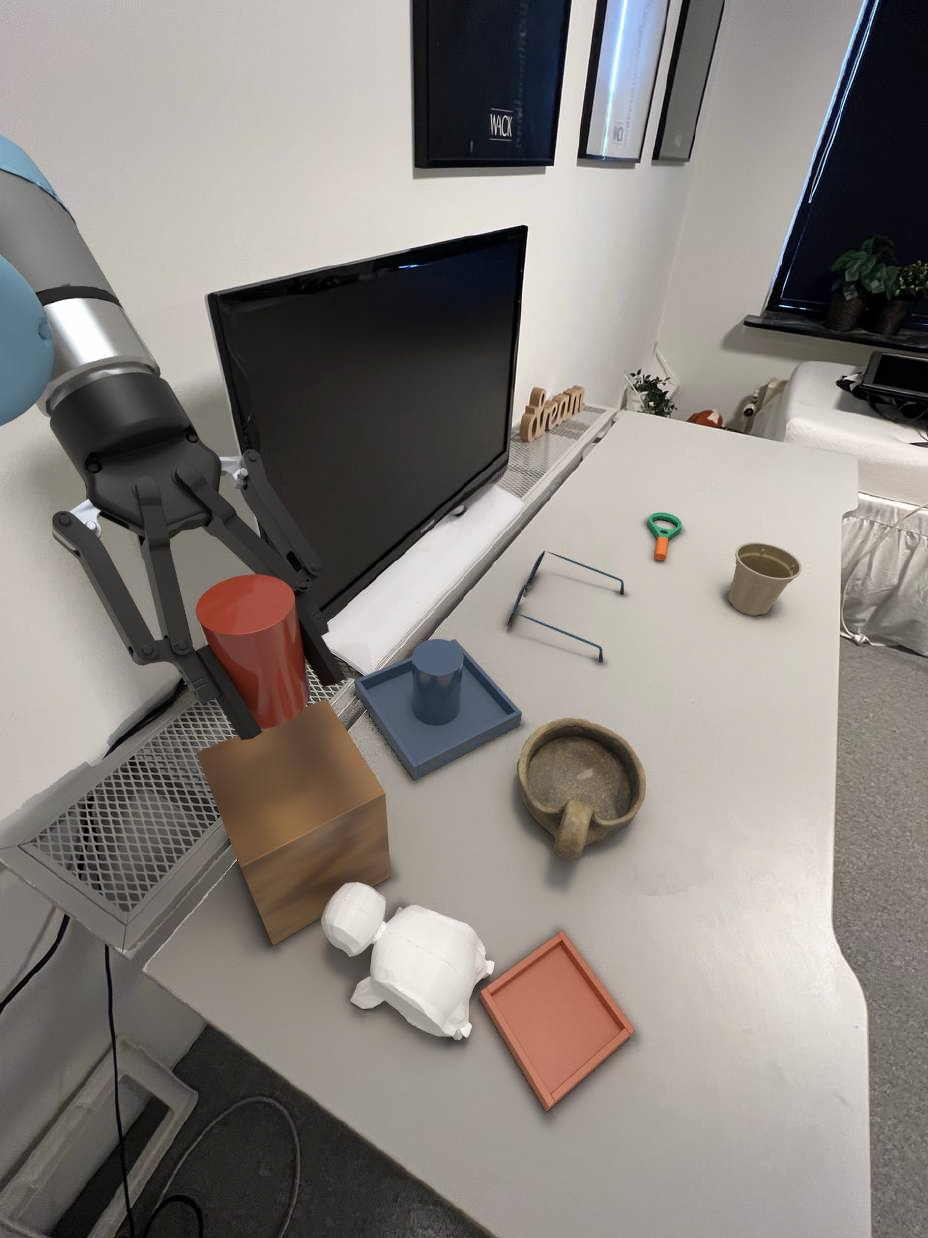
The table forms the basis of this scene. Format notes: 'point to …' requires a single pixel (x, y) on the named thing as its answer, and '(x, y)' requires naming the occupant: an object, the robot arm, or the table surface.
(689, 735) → the table surface
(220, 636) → the red cylinder
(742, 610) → the flower pot
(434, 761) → the blue tray
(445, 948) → the white turtle figurine
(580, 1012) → the red tray
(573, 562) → the sunglasses
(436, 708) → the slate blue cylinder
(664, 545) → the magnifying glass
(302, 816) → the brown wooden block
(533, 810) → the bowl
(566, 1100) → the table surface
